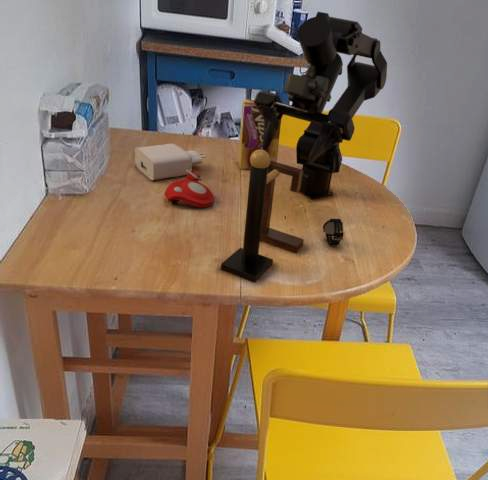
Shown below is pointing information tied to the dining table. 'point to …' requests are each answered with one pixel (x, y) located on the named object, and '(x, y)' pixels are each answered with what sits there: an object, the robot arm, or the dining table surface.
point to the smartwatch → (333, 231)
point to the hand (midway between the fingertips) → (285, 156)
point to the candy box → (254, 135)
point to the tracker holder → (190, 191)
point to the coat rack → (253, 223)
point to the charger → (165, 161)
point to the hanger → (268, 233)
